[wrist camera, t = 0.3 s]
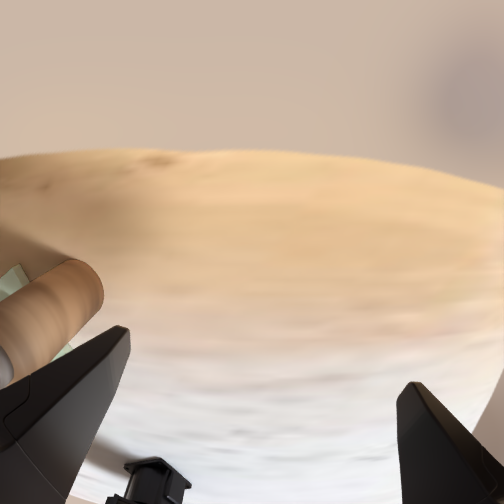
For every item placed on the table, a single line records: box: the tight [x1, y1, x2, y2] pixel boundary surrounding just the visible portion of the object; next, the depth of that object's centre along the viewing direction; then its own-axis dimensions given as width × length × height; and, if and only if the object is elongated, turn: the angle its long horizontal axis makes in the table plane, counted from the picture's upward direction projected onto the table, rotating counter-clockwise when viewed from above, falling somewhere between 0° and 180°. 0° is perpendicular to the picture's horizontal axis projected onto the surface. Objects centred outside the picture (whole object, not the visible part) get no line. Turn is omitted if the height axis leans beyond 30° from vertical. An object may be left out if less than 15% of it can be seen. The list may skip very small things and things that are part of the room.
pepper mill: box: [0, 260, 104, 389], centre depth 18 cm, size 5×5×13 cm
